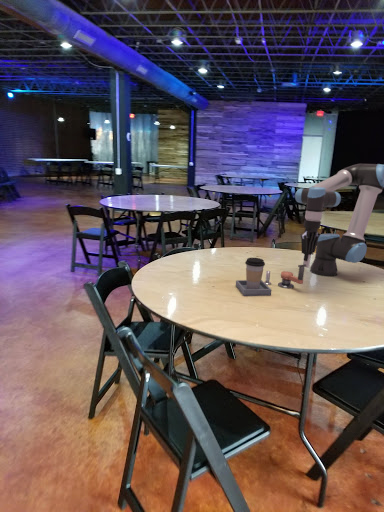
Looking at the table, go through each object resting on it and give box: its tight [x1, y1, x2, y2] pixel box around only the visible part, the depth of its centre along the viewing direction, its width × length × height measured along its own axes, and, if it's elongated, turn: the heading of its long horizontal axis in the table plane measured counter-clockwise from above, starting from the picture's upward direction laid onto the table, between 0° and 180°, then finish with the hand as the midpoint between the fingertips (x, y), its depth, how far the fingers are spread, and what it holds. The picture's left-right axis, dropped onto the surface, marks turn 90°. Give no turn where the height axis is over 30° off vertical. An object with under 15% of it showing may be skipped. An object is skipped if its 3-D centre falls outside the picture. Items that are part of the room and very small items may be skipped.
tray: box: [235, 279, 273, 297], centre depth 168 cm, size 14×14×3 cm
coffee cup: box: [245, 257, 266, 289], centre depth 167 cm, size 9×9×15 cm
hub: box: [277, 278, 295, 289], centre depth 177 cm, size 8×8×4 cm
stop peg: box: [263, 270, 272, 286], centre depth 179 cm, size 4×4×7 cm
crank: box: [280, 263, 306, 285], centre depth 172 cm, size 13×6×10 cm, turn 29°
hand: (306, 266), depth 170 cm, fingers closed
